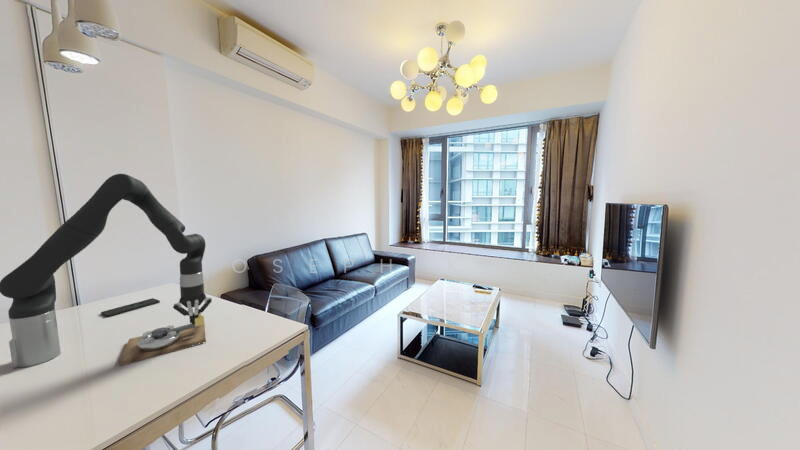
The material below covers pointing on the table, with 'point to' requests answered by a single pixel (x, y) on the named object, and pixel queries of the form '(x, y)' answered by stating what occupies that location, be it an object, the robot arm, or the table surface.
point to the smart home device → (129, 307)
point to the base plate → (186, 340)
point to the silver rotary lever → (165, 335)
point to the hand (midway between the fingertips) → (194, 323)
